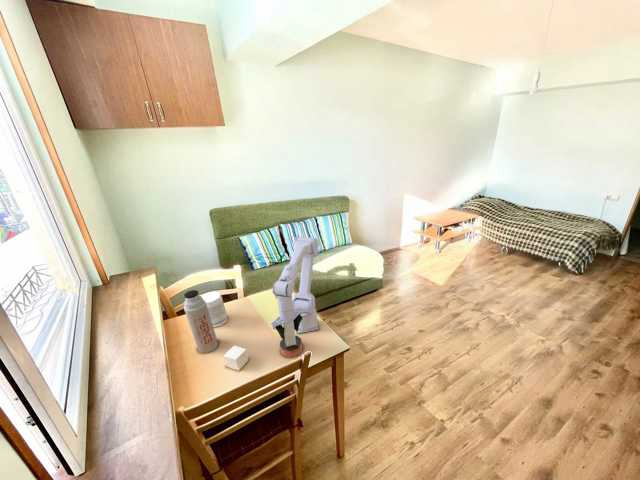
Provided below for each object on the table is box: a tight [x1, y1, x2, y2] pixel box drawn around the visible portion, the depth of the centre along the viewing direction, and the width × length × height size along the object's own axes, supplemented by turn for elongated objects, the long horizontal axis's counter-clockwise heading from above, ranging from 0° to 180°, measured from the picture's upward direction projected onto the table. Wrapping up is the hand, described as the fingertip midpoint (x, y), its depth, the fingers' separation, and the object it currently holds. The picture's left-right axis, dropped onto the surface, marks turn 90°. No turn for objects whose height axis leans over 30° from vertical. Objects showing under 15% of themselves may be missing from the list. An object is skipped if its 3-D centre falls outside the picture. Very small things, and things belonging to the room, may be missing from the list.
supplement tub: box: [200, 291, 229, 328], centre depth 134 cm, size 10×10×15 cm
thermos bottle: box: [183, 289, 219, 354], centre depth 116 cm, size 8×8×28 cm
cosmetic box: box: [282, 321, 296, 346], centre depth 115 cm, size 6×4×12 cm
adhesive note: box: [223, 345, 249, 372], centre depth 112 cm, size 6×6×6 cm
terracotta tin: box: [279, 334, 303, 358], centre depth 119 cm, size 9×9×4 cm
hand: (289, 333), depth 116 cm, fingers closed on cosmetic box, 6 cm apart
